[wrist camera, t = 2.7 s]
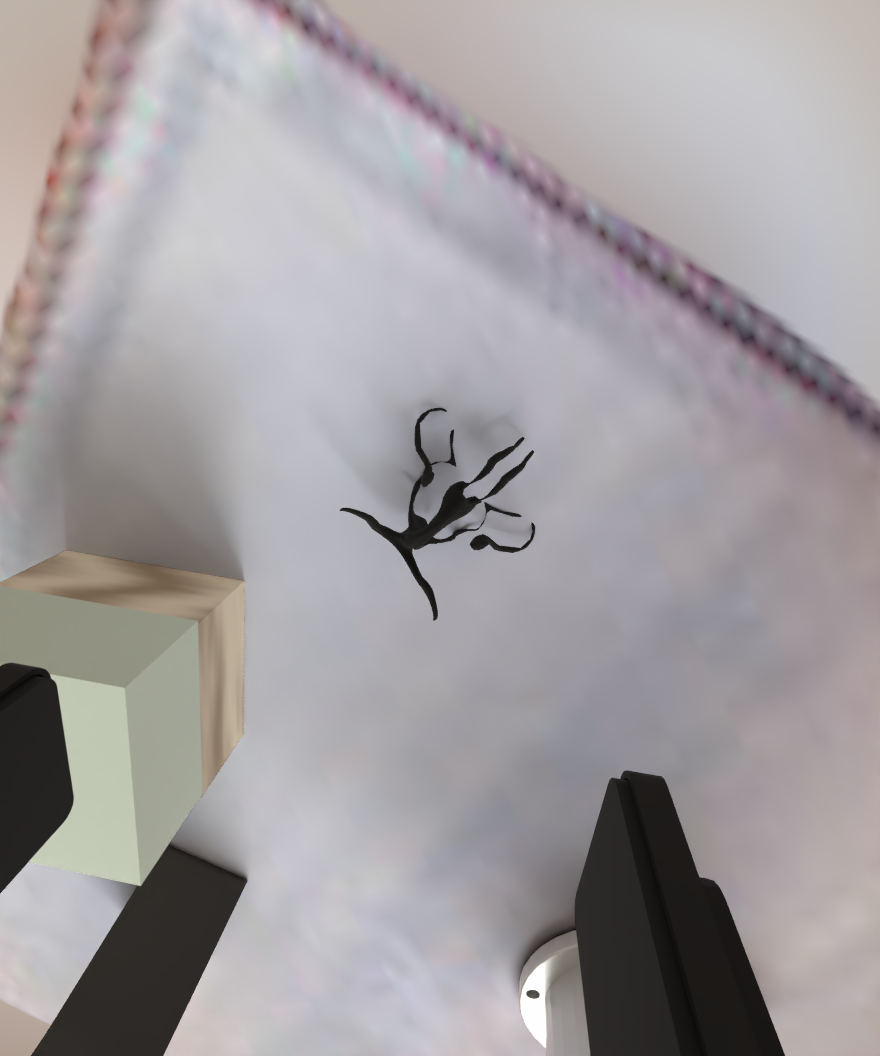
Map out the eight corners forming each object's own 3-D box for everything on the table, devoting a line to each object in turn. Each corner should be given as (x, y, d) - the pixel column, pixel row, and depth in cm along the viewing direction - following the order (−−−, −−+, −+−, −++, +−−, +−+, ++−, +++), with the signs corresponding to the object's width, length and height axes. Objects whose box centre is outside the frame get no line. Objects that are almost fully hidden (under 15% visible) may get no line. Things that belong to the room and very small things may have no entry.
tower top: (197, 620, 25) (124, 688, 20) (202, 793, 28) (140, 886, 23) (-12, 583, 25) (-130, 640, 21) (17, 757, 29) (-78, 839, 24)
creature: (470, 374, 26) (337, 482, 26) (486, 363, 20) (319, 498, 21) (568, 506, 27) (439, 605, 28) (606, 526, 22) (447, 648, 22)
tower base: (246, 578, 29) (196, 625, 25) (245, 731, 33) (201, 797, 28) (69, 548, 30) (-12, 588, 25) (86, 701, 34) (17, 760, 29)
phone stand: (165, 840, 36) (11, 1068, 25) (249, 879, 37) (133, 1121, 25) (132, 922, 39) (-19, 1157, 28) (210, 957, 40) (91, 1203, 28)
